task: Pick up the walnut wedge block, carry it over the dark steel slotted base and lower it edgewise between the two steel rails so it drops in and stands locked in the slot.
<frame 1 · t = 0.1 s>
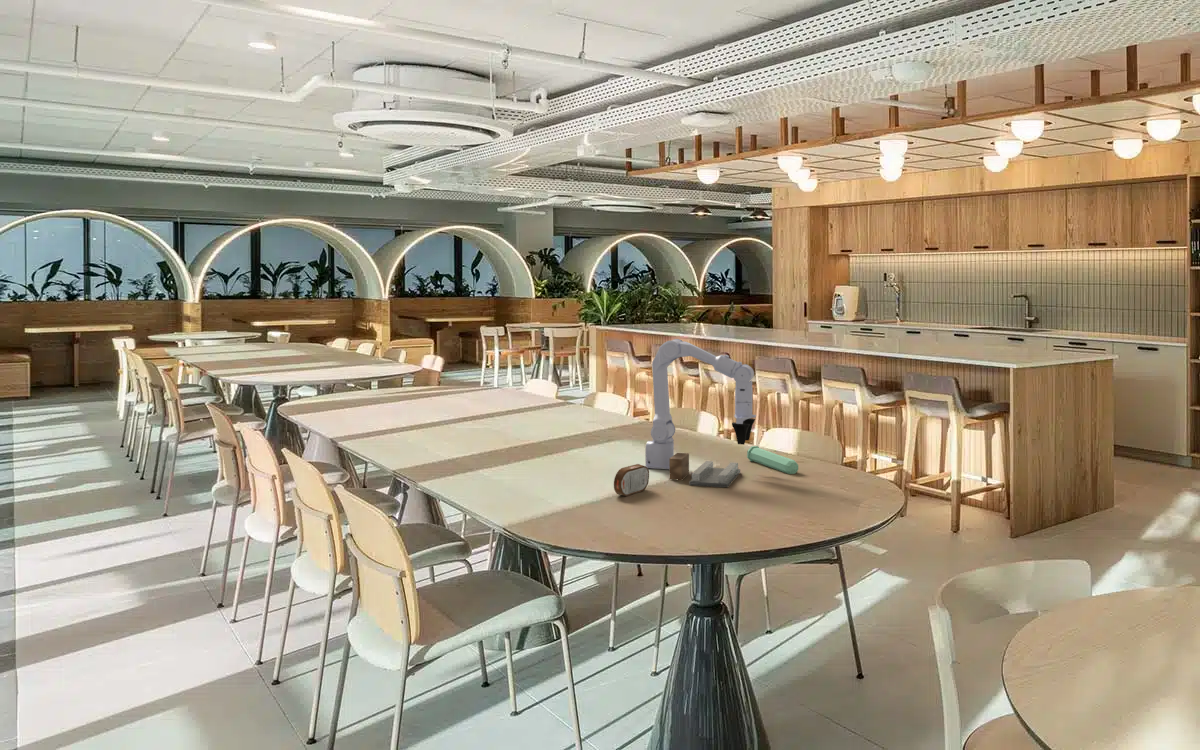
hand: (743, 442, 297), 10 cm above the table, tool pointing down, fingers open, 7 cm apart
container: (773, 468, 305), on the table
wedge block: (679, 477, 292), on the table
slot base: (715, 478, 288), on the table
tin: (632, 494, 271), on the table
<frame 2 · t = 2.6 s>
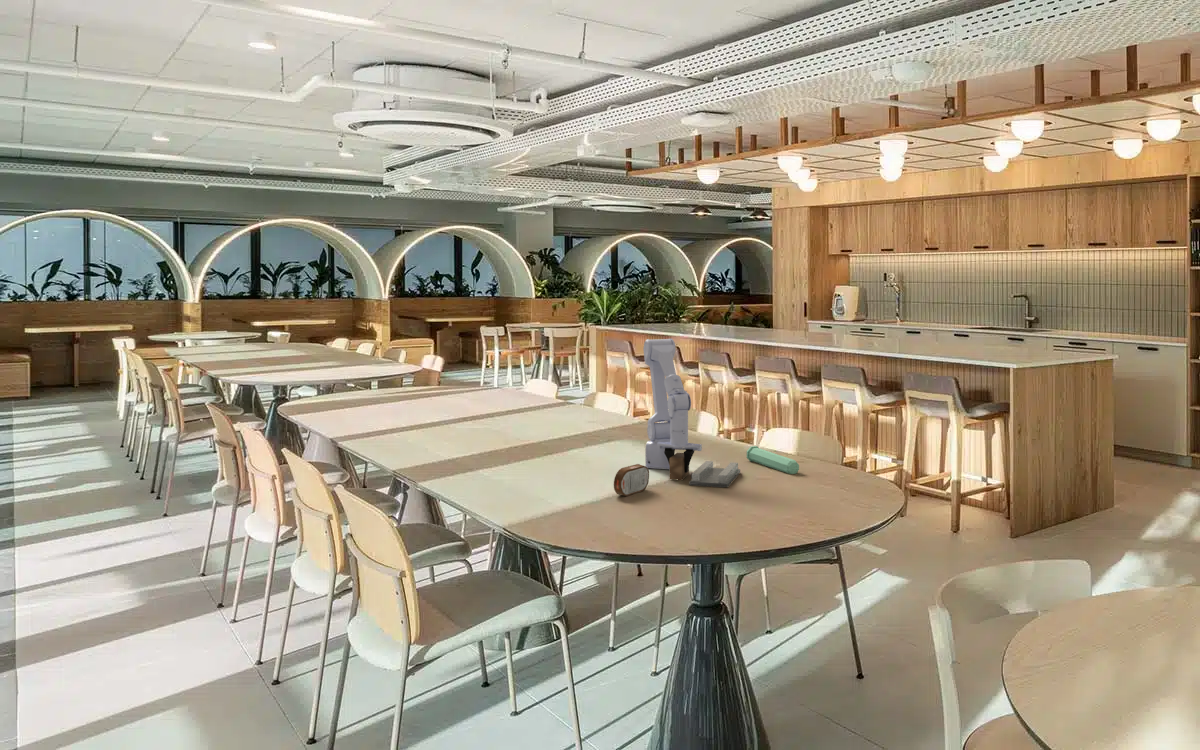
hand: (679, 471, 292), 2 cm above the table, tool pointing down, fingers closed on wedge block, 4 cm apart
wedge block: (679, 476, 292), on the table, touching gripper
everything else where it was.
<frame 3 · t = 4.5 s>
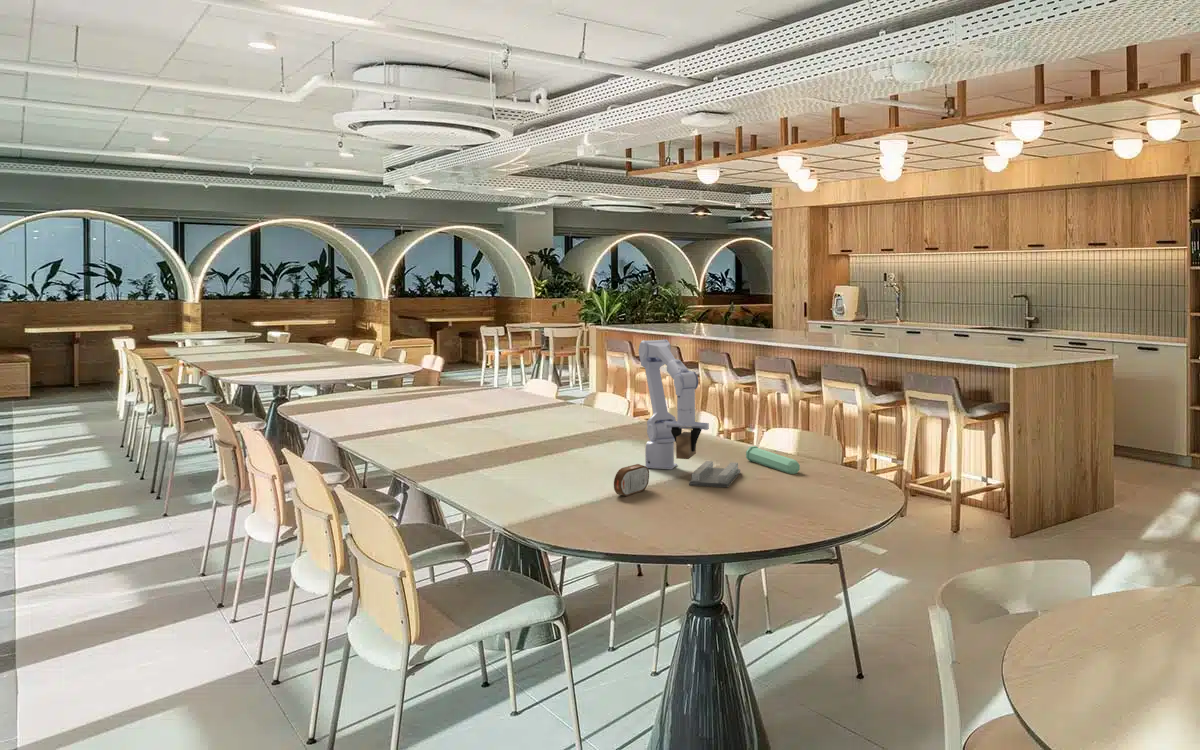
hand: (686, 450, 290), 9 cm above the table, tool pointing down, fingers closed on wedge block, 4 cm apart
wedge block: (686, 455, 291), point 7 cm above the table, touching gripper
everything else where it was.
when the fingers open (5 cm above the table, at t = 6.3 s): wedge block drops 2 cm, resting on slot base.
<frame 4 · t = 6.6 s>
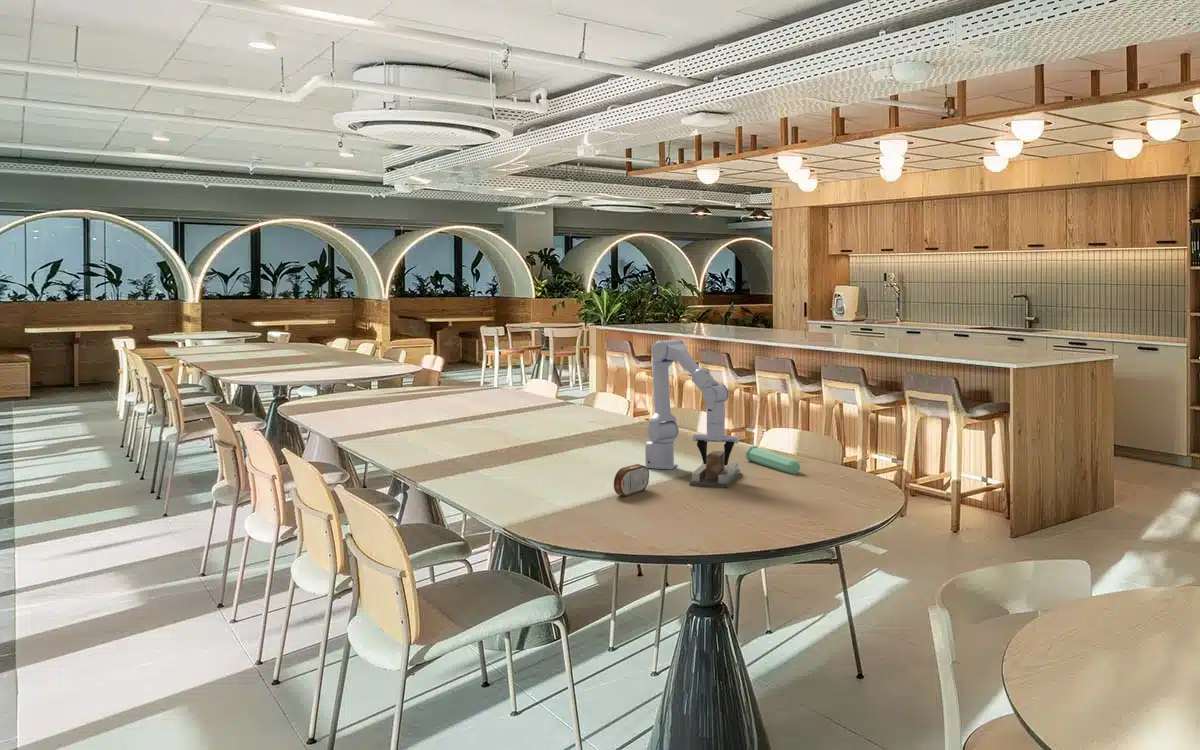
hand: (715, 464, 288), 5 cm above the table, tool pointing down, fingers open, 6 cm apart
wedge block: (715, 475, 288), point 1 cm above the table, touching slot base
everything else where it was.
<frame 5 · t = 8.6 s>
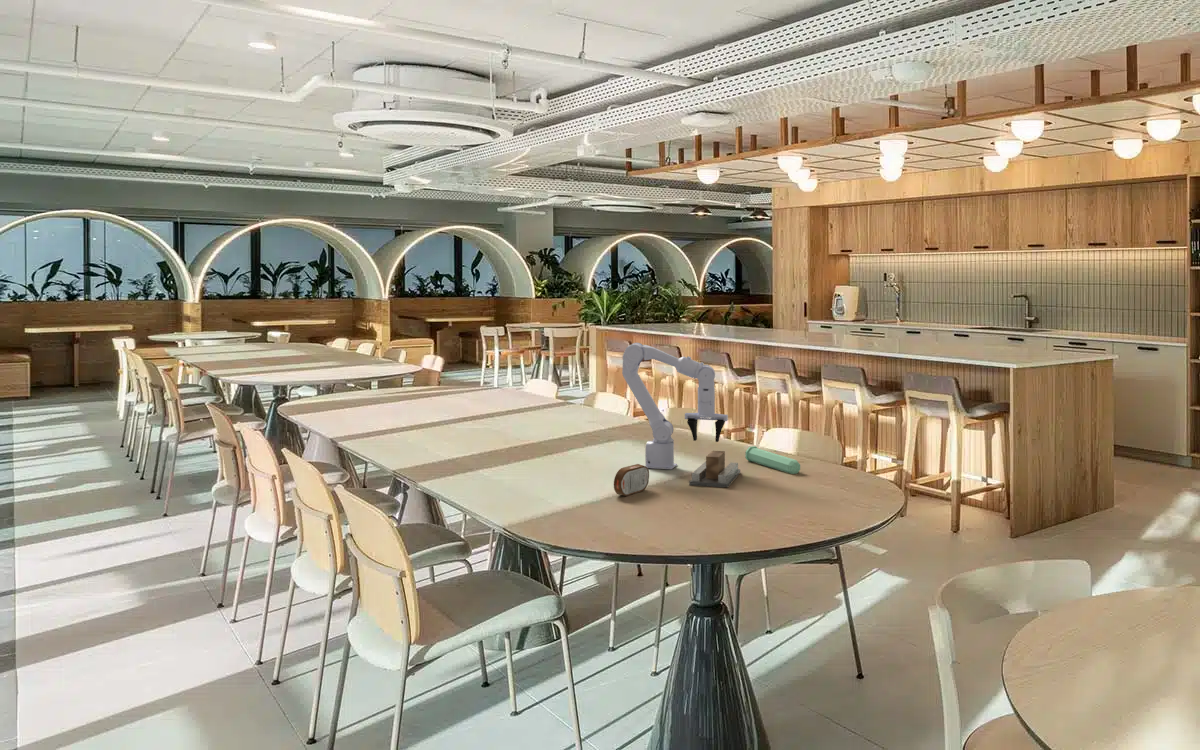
hand: (706, 440, 304), 9 cm above the table, tool pointing down, fingers open, 7 cm apart
nothing on the table moved.
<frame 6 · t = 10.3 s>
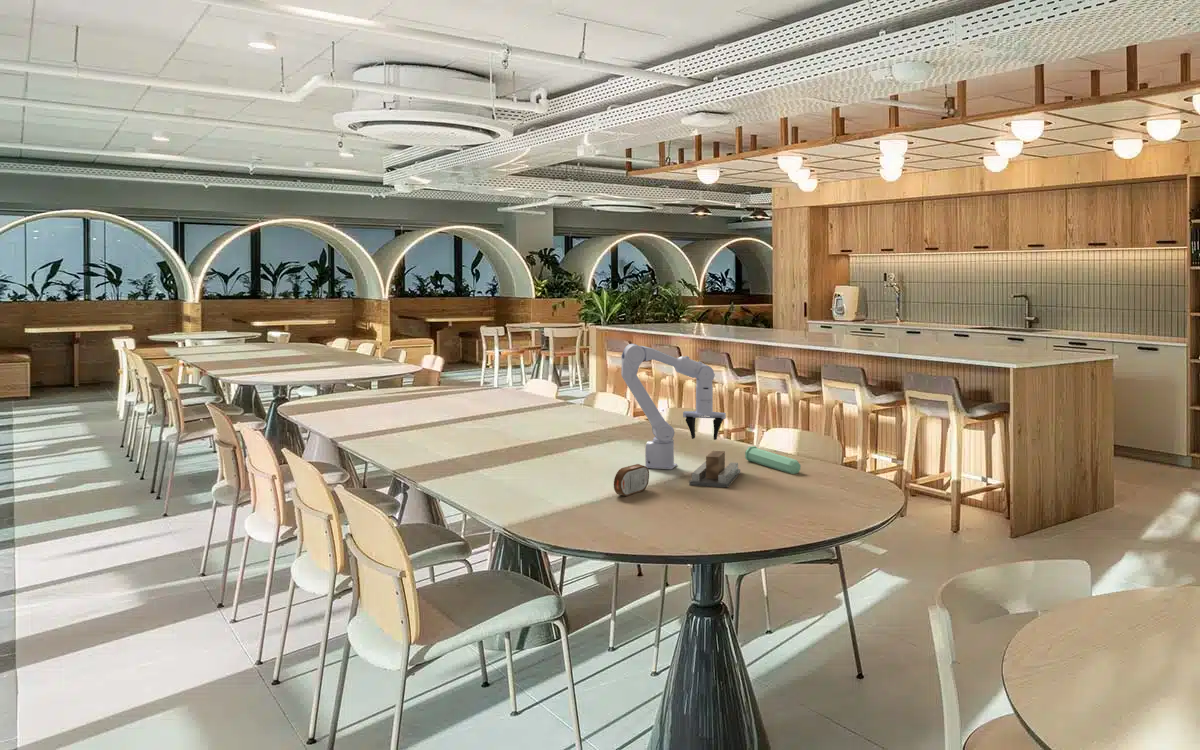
hand: (704, 438, 308), 9 cm above the table, tool pointing down, fingers open, 7 cm apart
nothing on the table moved.
at the end: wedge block inside the target area on the slot base (0.0 cm from its centre), point 1.2 cm above the slot base's base; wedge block tilted 0°; the gripper is holding nothing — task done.
